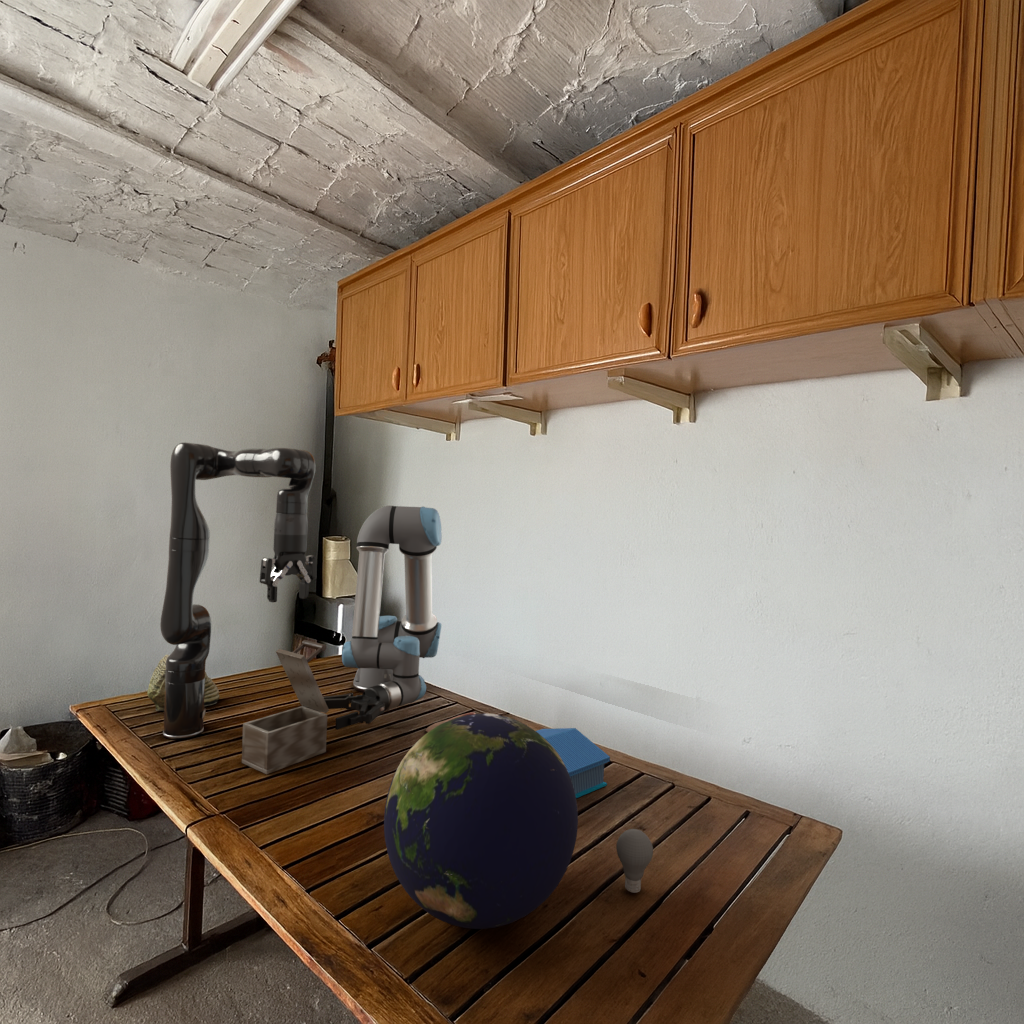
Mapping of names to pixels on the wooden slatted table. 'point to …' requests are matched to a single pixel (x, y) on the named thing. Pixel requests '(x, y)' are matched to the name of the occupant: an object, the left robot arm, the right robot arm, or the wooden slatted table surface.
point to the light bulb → (634, 857)
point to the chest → (284, 739)
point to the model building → (578, 758)
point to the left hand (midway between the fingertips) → (288, 600)
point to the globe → (480, 821)
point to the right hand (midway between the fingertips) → (318, 717)
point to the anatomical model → (446, 721)
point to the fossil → (158, 687)
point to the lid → (303, 675)
